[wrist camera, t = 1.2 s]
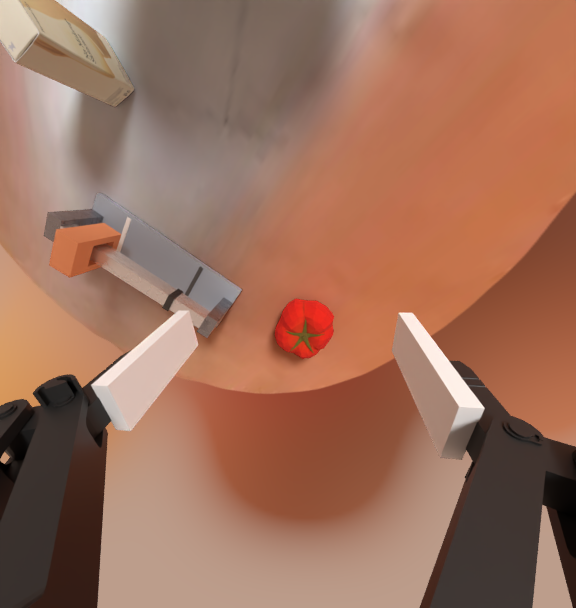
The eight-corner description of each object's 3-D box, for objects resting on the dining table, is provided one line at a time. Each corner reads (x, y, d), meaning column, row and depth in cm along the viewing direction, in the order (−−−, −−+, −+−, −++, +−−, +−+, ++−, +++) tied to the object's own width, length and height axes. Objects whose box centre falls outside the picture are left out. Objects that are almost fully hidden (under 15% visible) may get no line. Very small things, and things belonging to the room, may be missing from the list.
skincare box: (136, 90, 32) (43, 36, 21) (115, 108, 34) (16, 67, 23) (104, 33, 30) (-20, -59, 19) (82, 55, 31) (-45, -19, 20)
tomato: (272, 332, 47) (265, 352, 41) (292, 285, 42) (288, 300, 36) (317, 349, 47) (316, 372, 41) (341, 305, 43) (345, 323, 37)
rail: (87, 229, 41) (42, 235, 34) (92, 209, 39) (46, 212, 33) (223, 317, 45) (206, 338, 39) (232, 303, 44) (217, 322, 37)
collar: (95, 252, 39) (49, 265, 33) (104, 222, 37) (56, 229, 30) (111, 263, 40) (69, 277, 33) (121, 234, 37) (78, 243, 31)
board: (88, 241, 43) (83, 243, 42) (101, 193, 39) (96, 193, 38) (218, 325, 48) (215, 328, 47) (242, 289, 43) (240, 291, 42)
